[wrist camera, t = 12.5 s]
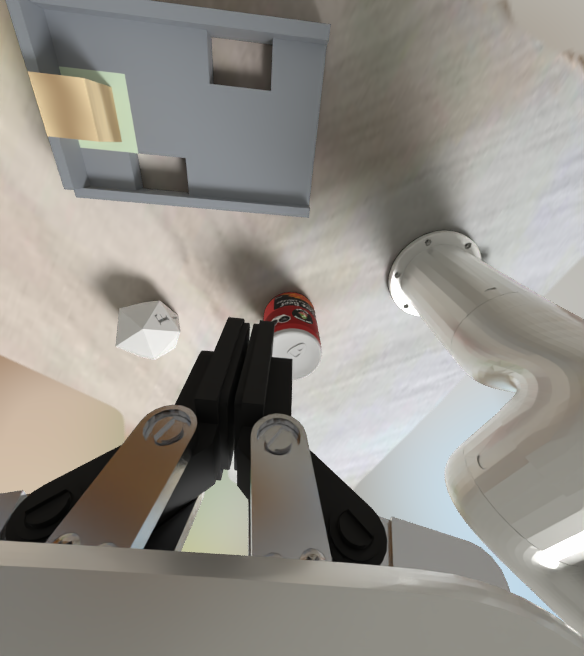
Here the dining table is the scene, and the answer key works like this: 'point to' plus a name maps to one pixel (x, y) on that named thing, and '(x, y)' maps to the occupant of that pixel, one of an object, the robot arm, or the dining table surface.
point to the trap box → (183, 100)
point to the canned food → (295, 332)
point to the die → (147, 329)
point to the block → (76, 107)
